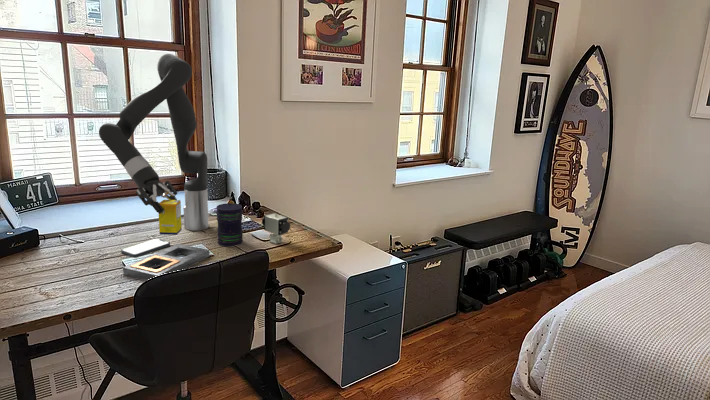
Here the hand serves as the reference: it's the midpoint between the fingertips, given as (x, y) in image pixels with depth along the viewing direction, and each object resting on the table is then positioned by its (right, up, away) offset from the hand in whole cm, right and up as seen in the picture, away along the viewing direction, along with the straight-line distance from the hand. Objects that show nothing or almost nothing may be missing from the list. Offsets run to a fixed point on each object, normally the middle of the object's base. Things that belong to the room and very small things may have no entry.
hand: (170, 209), depth 164 cm
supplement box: (-1, -8, +2) cm, 8 cm away
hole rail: (-2, -19, +4) cm, 20 cm away
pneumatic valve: (+31, -14, +31) cm, 46 cm away
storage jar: (+13, -14, +28) cm, 34 cm away
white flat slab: (-16, -16, +18) cm, 29 cm away
